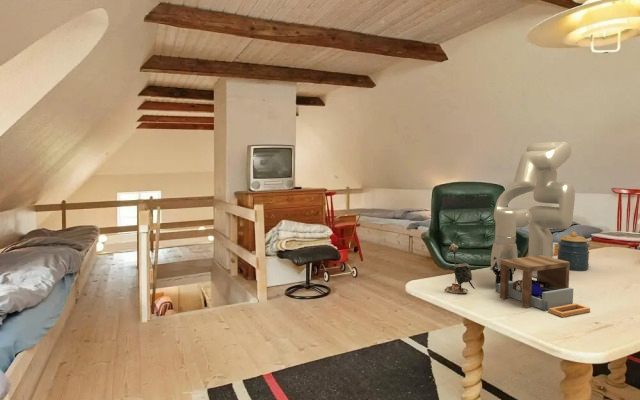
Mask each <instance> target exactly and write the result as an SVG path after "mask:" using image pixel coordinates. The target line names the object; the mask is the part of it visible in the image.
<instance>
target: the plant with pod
mask: <svg viewBox="0 0 640 400" xmlns="http://www.w3.org/2000/svg"><path fill="white" fill-rule="evenodd" d="M458 251H459V245H457V244H455V243H451V244H450V246H449V247H448V251H447V253H450V252H451V253H453V257H454V266H453V273H454V276H455V277H454V279H455V280H454V282H452V283H451V285H450V286H446V288H445V289H444V291H445V292H448V293H454V294H467V293H468V292H469V290H468V289H467V288H465V287H464V288H463V287H462V284H463V283H468V284H469V285H470V286H471V288H472V289H474V290H475V289H476V287H475V286H474V285H473V284H472V282H471V281H473V277H472V276H473V275H472V274H473V273H472V270H471V267H470V264H468V263H458V264H457V261H456V256H457V255H456V254H457V252H458Z"/></svg>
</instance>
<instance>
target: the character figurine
mask: <svg viewBox="0 0 640 400" xmlns="http://www.w3.org/2000/svg"><path fill="white" fill-rule="evenodd" d="M514 281H515V282H514V283H513V289H515V290H518V291H520V292H522V287H523V278H522V279H517V280H514ZM549 285H550V283H548V282H542V281H537V279H532V291H531V295H532V296H534V297H537V298H540V299H542V292H547V291H553V290H552V289H554V290H558V289H559V288H556V287H552V286H549Z"/></svg>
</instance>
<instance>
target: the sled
mask: <svg viewBox="0 0 640 400" xmlns="http://www.w3.org/2000/svg"><path fill="white" fill-rule="evenodd" d="M498 271H500V269H499V270H498ZM515 281H516V280H513V281H510V271H509V289H508V298H509V297H510V298H513V299H515V300H517V301H520V302H522V292H520V291H518V290H515V289H513V283H514V282H515ZM495 292H497V293H499V294H500V283H498V284H496V283H495ZM573 301H574V288H572V287H569V288H565V289H559V290H553V291H547V292H542V299H540V298H537V297H534V296H532V295H531V307H532V306H533V307H535V308H538V309H541V310H543V311H547V310H548V311H549V308H553V307H559V306H564V305H570V304H574V303H573Z"/></svg>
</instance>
